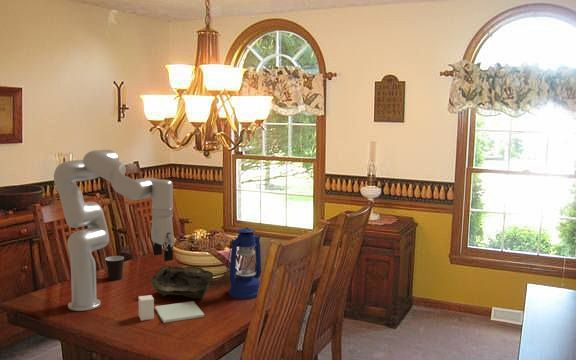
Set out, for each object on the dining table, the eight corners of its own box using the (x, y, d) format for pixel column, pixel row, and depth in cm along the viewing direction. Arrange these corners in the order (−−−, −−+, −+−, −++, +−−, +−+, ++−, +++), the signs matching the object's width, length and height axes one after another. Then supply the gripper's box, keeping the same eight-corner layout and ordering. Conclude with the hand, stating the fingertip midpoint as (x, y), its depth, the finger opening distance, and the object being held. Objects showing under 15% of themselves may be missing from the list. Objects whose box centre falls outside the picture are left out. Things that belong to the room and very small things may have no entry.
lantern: (239, 302, 227) (240, 233, 223) (219, 292, 238) (220, 227, 234) (271, 293, 238) (272, 228, 234) (250, 285, 249) (251, 222, 246)
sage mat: (155, 308, 217) (155, 306, 217) (193, 303, 224) (193, 301, 223) (163, 322, 202) (163, 320, 202) (204, 316, 209) (204, 314, 209)
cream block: (138, 316, 209) (138, 296, 208) (151, 314, 211) (151, 294, 210) (141, 320, 204) (140, 300, 203) (154, 318, 206) (153, 299, 205)
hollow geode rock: (213, 310, 229) (224, 279, 237) (204, 298, 219) (216, 266, 227) (156, 300, 237) (169, 270, 245) (145, 287, 227) (158, 257, 236)
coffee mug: (121, 281, 250) (120, 261, 249) (102, 281, 250) (102, 260, 249) (128, 274, 262) (128, 254, 260) (111, 273, 262) (111, 254, 260)
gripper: (144, 210, 202) (144, 254, 204) (162, 217, 188) (163, 264, 190) (162, 208, 207) (162, 251, 209) (182, 215, 193) (182, 261, 195)
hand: (163, 257), depth 200 cm, fingers open, 9 cm apart
